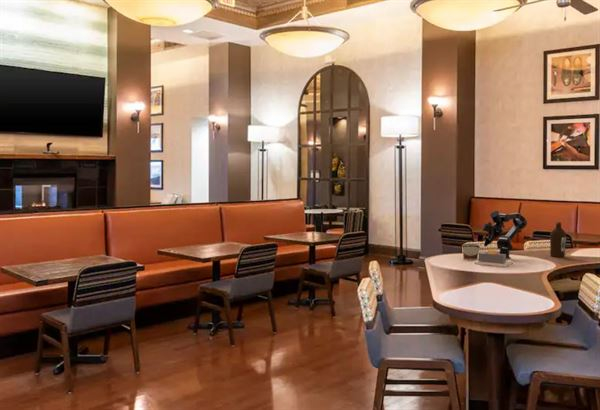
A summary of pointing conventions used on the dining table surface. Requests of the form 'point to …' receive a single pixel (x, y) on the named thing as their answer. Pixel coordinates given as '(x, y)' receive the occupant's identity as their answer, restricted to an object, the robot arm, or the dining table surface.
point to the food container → (470, 251)
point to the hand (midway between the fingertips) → (487, 243)
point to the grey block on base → (493, 259)
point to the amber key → (492, 251)
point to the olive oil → (557, 241)
